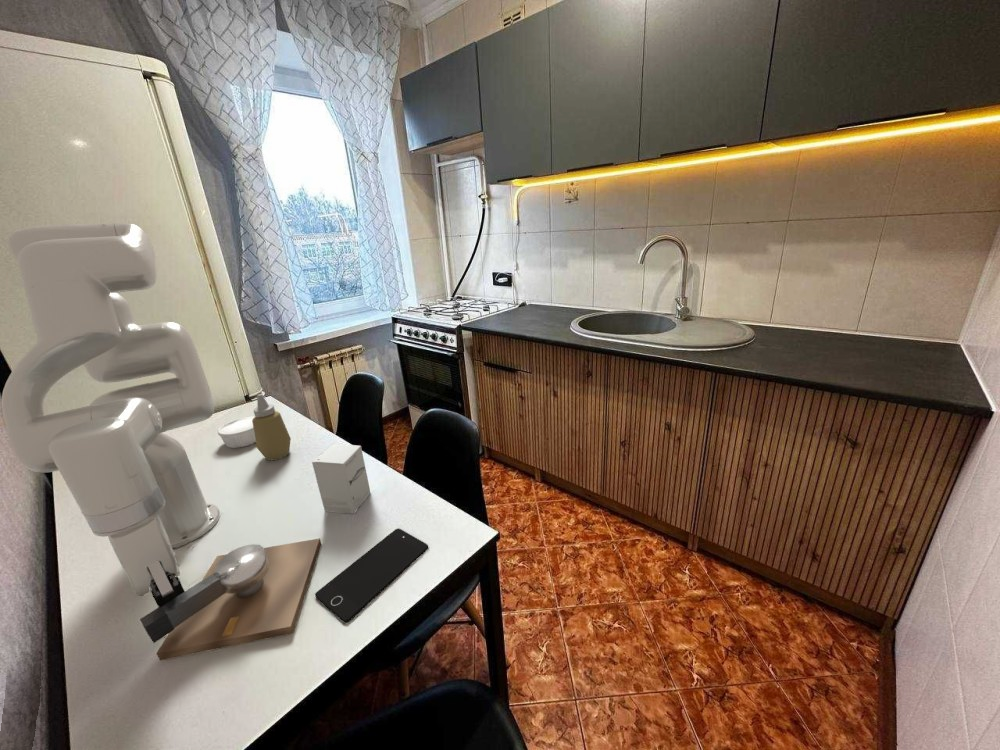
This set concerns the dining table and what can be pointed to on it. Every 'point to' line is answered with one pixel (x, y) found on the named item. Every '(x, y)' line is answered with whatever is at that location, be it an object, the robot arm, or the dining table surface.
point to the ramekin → (238, 432)
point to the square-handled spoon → (209, 589)
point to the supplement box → (341, 478)
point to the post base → (250, 605)
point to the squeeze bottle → (270, 431)
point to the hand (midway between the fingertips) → (174, 604)
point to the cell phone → (370, 574)
